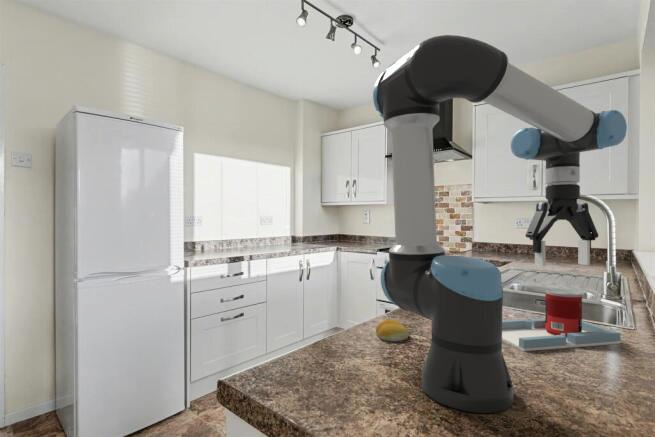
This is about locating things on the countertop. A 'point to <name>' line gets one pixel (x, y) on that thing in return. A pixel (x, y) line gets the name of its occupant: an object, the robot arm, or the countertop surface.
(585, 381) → the countertop surface
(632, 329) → the countertop surface
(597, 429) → the countertop surface
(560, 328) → the canned food
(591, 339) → the track
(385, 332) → the bread roll
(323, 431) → the countertop surface
